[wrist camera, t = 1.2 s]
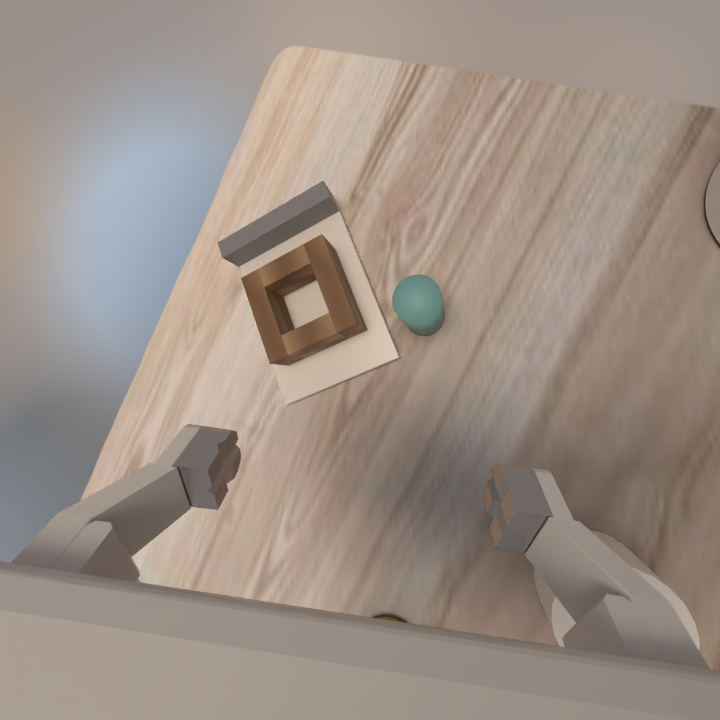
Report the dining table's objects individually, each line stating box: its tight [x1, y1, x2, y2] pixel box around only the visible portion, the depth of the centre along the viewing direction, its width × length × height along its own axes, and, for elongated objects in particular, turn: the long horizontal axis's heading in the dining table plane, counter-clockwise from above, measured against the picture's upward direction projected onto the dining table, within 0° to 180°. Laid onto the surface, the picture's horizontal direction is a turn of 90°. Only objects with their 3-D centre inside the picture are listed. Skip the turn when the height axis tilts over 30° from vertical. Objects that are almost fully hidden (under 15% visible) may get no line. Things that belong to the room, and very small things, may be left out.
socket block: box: [241, 234, 367, 366], centre depth 35 cm, size 10×10×4 cm
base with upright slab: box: [533, 530, 700, 650], centre depth 24 cm, size 9×9×12 cm
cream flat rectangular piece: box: [218, 181, 400, 405], centre depth 37 cm, size 14×20×4 cm
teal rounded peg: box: [392, 275, 444, 336], centre depth 31 cm, size 4×4×8 cm
